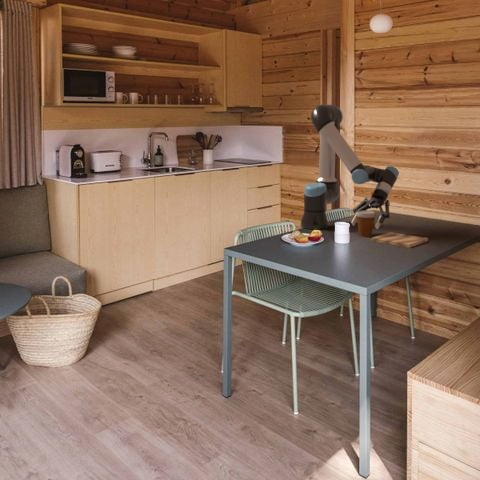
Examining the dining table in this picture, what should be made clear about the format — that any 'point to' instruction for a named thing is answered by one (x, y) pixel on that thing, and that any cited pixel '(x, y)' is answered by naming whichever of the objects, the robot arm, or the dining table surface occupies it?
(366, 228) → the disposable coffee cup
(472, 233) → the dining table surface
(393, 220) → the dining table surface
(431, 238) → the dining table surface
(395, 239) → the oak board
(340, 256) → the dining table surface
